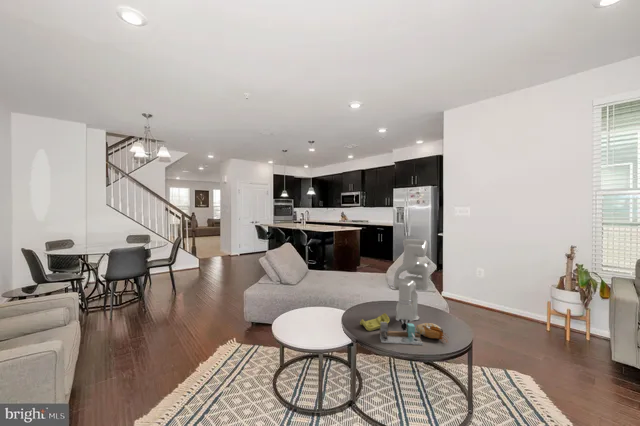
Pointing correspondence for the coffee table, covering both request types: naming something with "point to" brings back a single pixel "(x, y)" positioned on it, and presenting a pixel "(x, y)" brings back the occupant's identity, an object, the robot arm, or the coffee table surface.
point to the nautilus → (431, 331)
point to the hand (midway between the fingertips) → (403, 329)
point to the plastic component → (375, 322)
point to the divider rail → (386, 333)
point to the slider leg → (411, 330)
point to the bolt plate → (401, 340)
